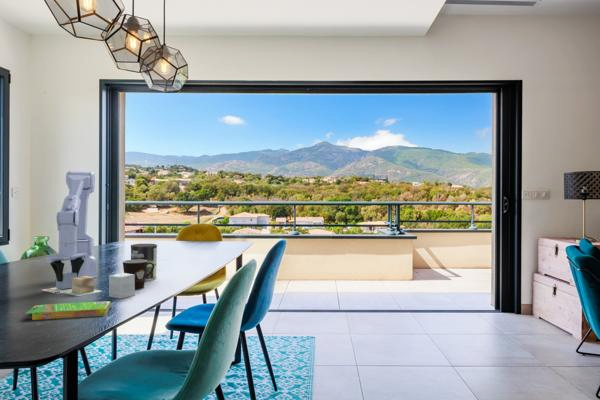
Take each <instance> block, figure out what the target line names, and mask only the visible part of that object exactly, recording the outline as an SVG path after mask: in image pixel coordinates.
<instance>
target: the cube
mask: <svg viewBox="0 0 600 400" xmlns="http://www.w3.org/2000/svg"><path fill="white" fill-rule="evenodd" d="M76 277H77V273H73V272H70V271H68V272H63V280H62V282H59V281H57V278H56V277H55V287H56V288H61V289H66V288H72V278H76Z"/></svg>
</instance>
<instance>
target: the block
mask: <svg viewBox="0 0 600 400" xmlns="http://www.w3.org/2000/svg"><path fill="white" fill-rule="evenodd" d="M94 289H95V278H94V277H89V276H82V277H76V278H72V292H73V293H78V294H83V293H88V292H93V291H94Z"/></svg>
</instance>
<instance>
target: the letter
mask: <svg viewBox="0 0 600 400" xmlns="http://www.w3.org/2000/svg"><path fill="white" fill-rule="evenodd" d="M58 289H60V290H59V291H60V293H55V292H57V291H58ZM42 291H44V292H49V293H53V294H64V293H65V292H70V291H72V288H66V289H61V288H56V286H55V287H50V288H45V289H42ZM59 291H58V292H59Z"/></svg>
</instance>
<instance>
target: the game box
mask: <svg viewBox="0 0 600 400" xmlns="http://www.w3.org/2000/svg"><path fill="white" fill-rule="evenodd" d="M110 308H111V301H109V300H108V301H107V300H106V301H88V302H87V301H86V302H68V303H66V302H65V303H47V304H37V305H34V306H33V307H31V309H29V310H28V311H26V312H25V313H24V314H25V315H29V314H31V320H32V321H37V320H52V319H55V318H56V319H67V318H68V319H69V318H85V317H86V318H87V317H101V316H106V315H107V313H108V311H109V310H110ZM56 319H55V320H56Z"/></svg>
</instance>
